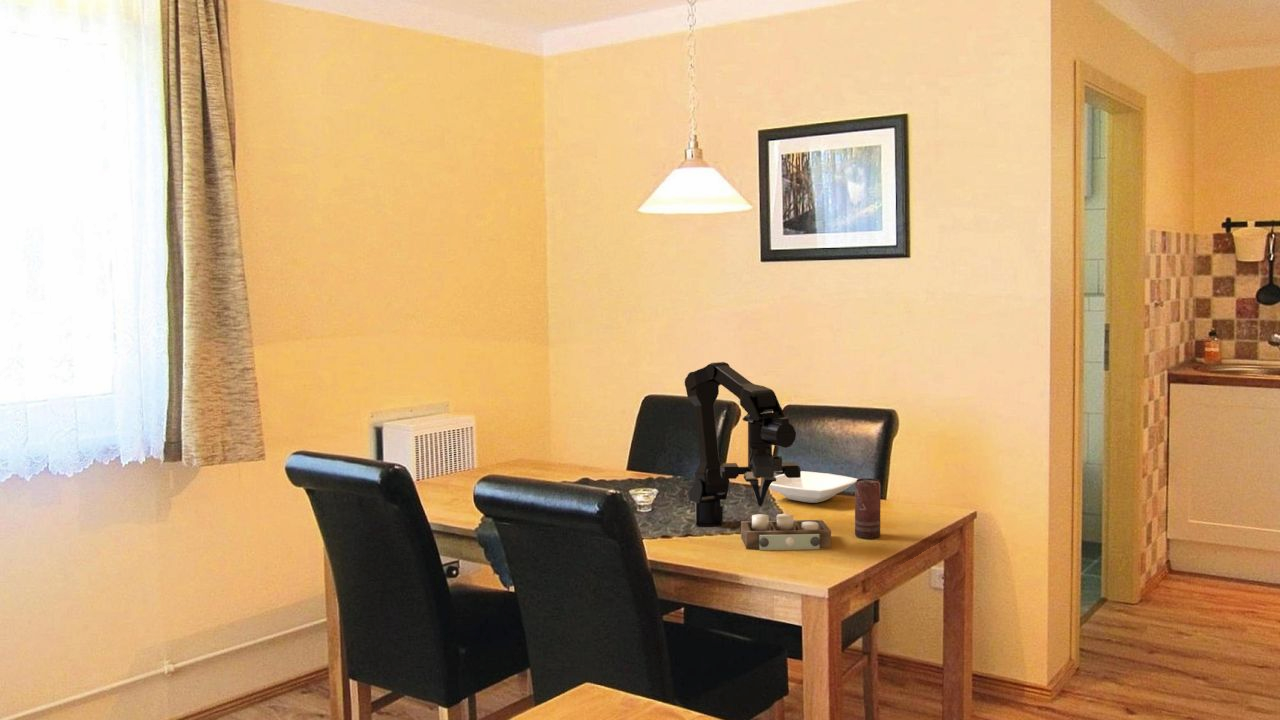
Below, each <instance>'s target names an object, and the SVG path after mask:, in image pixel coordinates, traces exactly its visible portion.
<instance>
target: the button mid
mask: <svg viewBox="0 0 1280 720" xmlns="http://www.w3.org/2000/svg"><path fill="white" fill-rule="evenodd" d="M794 517H795V516H794V514H791V513H779V514H776V521H777V529H780V530H791V529H793V528H794Z"/></svg>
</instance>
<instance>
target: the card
mask: <svg viewBox="0 0 1280 720" xmlns="http://www.w3.org/2000/svg"><path fill="white" fill-rule="evenodd" d="M759 543H760V549H759V551H785V550H786V551H790V550H791V551H793V550H797V551H798V550H800V551H802V550H804V551H805V550H820V548H819V543H820V540H819V534H789V535H760V541H759Z"/></svg>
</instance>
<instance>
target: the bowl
mask: <svg viewBox="0 0 1280 720" xmlns="http://www.w3.org/2000/svg"><path fill="white" fill-rule="evenodd" d="M775 478H776V479H777V480H776V481H773V482H772V483H771V484H770V486H769V488H768V489H770V490H771V491H772V492H776V493H780V495H782V496H783V497H785V498H786V499H787V500H792V501H797V502H803V503H810V504H811V503H812V504H818V503H821V502H824V501H828V500H830V499H831V498H833V497H834V496H835V495H837V494H839V493H842V492H844V491H845V490H846V489H848V488H850V487H851V486H853V485H855V483H856V481H857V480H858V479H859V478H855V477H851V476H847V475H840V474H834V473H833V474H832V473H828V472H827V473H826V472H825V473H824V472H815V471H808V470H807V471H803V470H801V477H799V478H787V477H786V476H785V475H784V474H777V475H776V476H775Z"/></svg>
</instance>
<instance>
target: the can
mask: <svg viewBox="0 0 1280 720" xmlns="http://www.w3.org/2000/svg"><path fill="white" fill-rule="evenodd" d="M857 479H858V480H857V481H856V482H855V483H854V535H855V537H856V538H858V539H863V540H875V539H878V538H880V536H881V504H882V503H881V499H882V498H881V493H882V491H881V489H882V488H881V486H882V485H881V482H880V480H879V479H876V478H857Z"/></svg>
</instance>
